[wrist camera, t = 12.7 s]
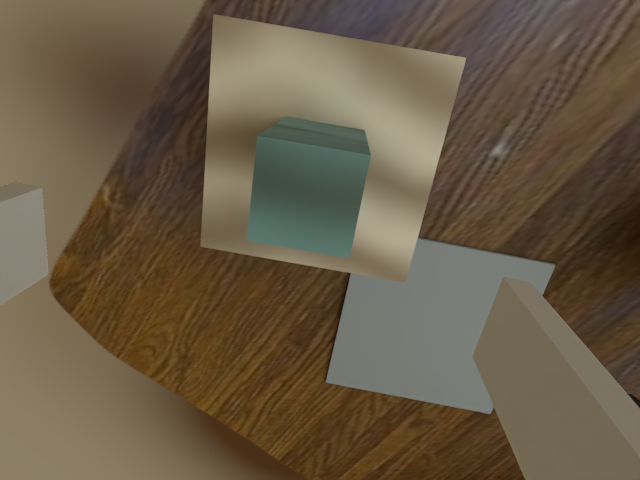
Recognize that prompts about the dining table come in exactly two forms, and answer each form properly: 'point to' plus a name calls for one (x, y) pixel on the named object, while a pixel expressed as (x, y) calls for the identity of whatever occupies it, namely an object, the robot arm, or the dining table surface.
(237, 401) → the dining table surface
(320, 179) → the lid
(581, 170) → the dining table surface
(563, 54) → the dining table surface
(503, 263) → the mat
